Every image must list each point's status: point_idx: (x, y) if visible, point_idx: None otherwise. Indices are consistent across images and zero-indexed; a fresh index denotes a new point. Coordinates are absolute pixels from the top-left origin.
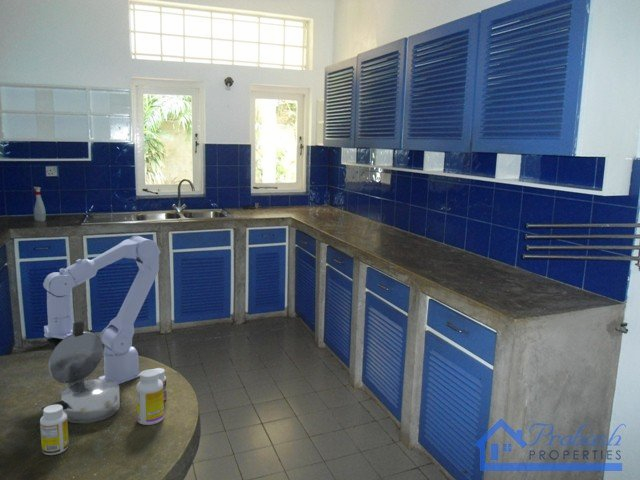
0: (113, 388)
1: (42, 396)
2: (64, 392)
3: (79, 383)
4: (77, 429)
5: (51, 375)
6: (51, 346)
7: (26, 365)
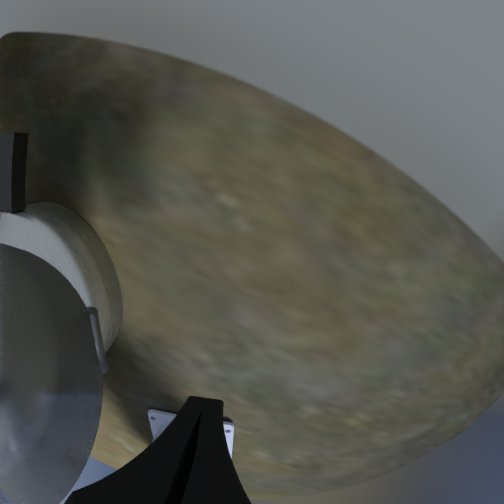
0: None
1: (270, 251)
2: (36, 250)
3: None
4: None
5: (21, 249)
6: (218, 500)
7: (499, 337)
